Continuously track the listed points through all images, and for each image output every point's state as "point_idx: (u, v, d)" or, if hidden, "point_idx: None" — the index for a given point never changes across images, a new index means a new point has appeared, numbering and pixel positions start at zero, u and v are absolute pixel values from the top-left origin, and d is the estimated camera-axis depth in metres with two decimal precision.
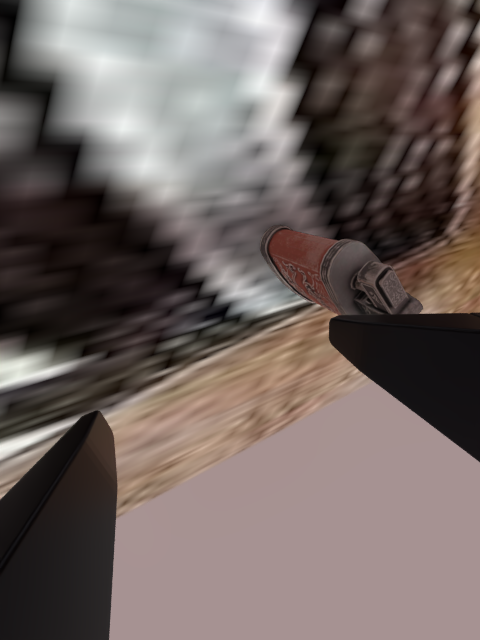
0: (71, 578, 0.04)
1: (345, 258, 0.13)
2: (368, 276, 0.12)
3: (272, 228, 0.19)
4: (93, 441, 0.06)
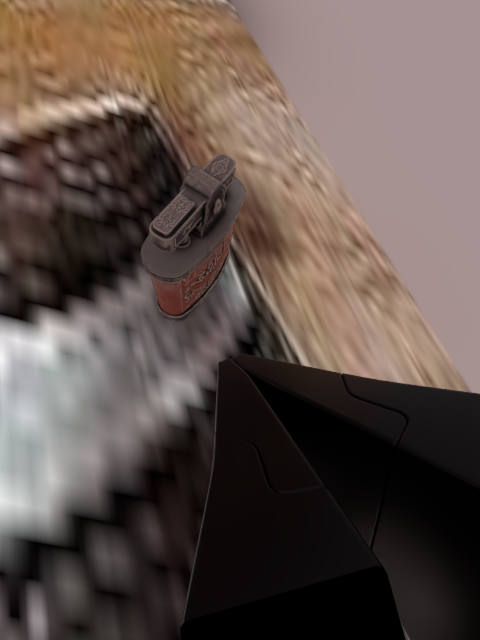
0: None
1: (158, 261, 0.13)
2: (165, 244, 0.12)
3: (160, 312, 0.20)
4: None
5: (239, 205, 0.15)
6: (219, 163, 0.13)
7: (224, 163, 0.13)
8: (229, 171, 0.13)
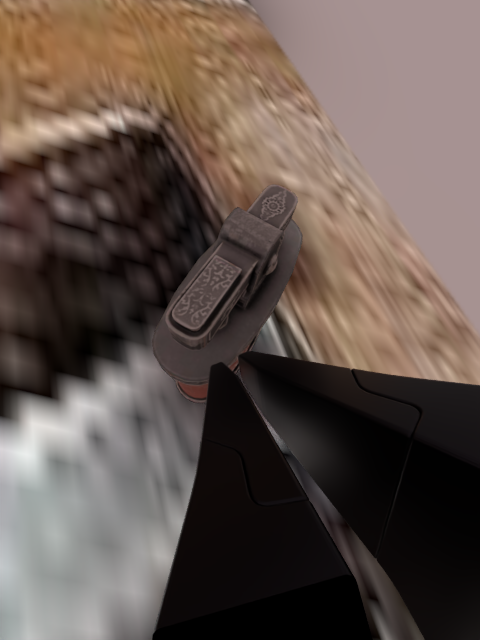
0: None
1: (180, 356, 0.08)
2: (192, 343, 0.07)
3: (181, 393, 0.15)
4: None
5: (295, 255, 0.10)
6: (272, 199, 0.08)
7: (280, 199, 0.08)
8: (288, 211, 0.08)
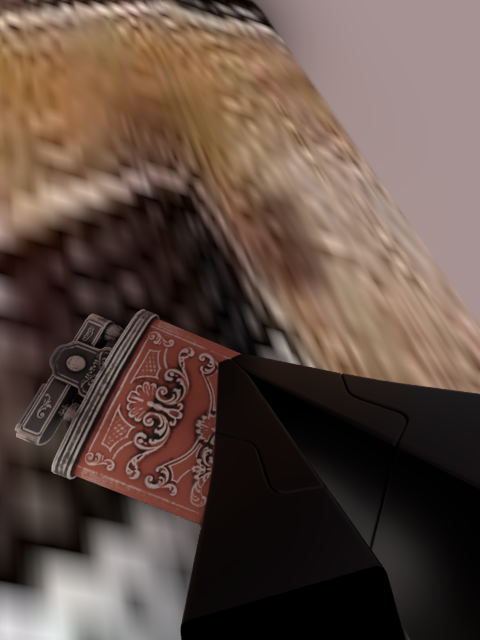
0: None
1: None
2: (25, 439, 0.11)
3: None
4: None
5: (123, 333, 0.12)
6: None
7: None
8: (82, 327, 0.13)
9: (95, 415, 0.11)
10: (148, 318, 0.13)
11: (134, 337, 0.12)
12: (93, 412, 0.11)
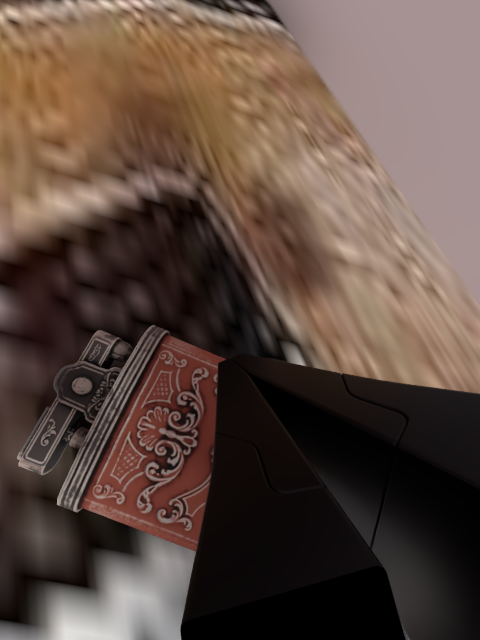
0: None
1: None
2: (29, 469, 0.10)
3: None
4: None
5: (132, 353, 0.11)
6: None
7: None
8: (87, 345, 0.12)
9: (103, 444, 0.10)
10: (159, 336, 0.12)
11: (144, 357, 0.11)
12: (101, 441, 0.10)
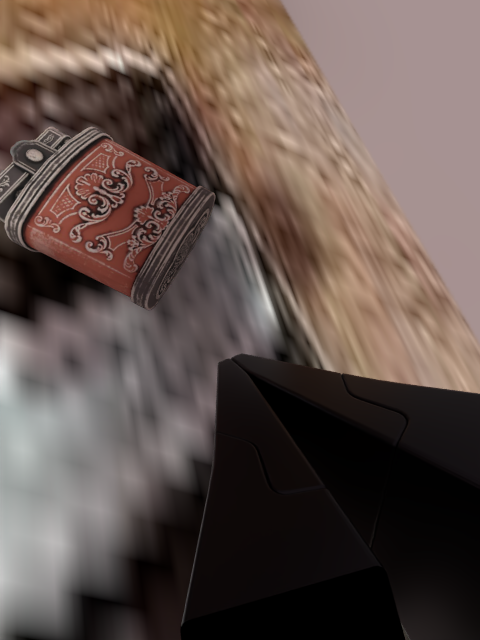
0: None
1: None
2: None
3: (142, 306, 0.14)
4: None
5: (78, 135, 0.14)
6: None
7: None
8: (43, 134, 0.14)
9: (46, 186, 0.13)
10: (103, 133, 0.14)
11: (87, 139, 0.14)
12: (44, 183, 0.13)
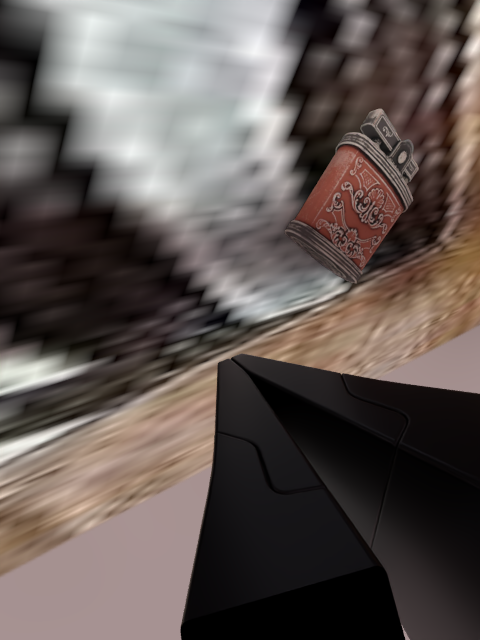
0: None
1: None
2: (373, 115, 0.17)
3: None
4: None
5: (409, 191, 0.20)
6: None
7: None
8: (414, 162, 0.20)
9: (381, 168, 0.18)
10: (407, 207, 0.21)
11: (405, 198, 0.20)
12: (383, 167, 0.18)
